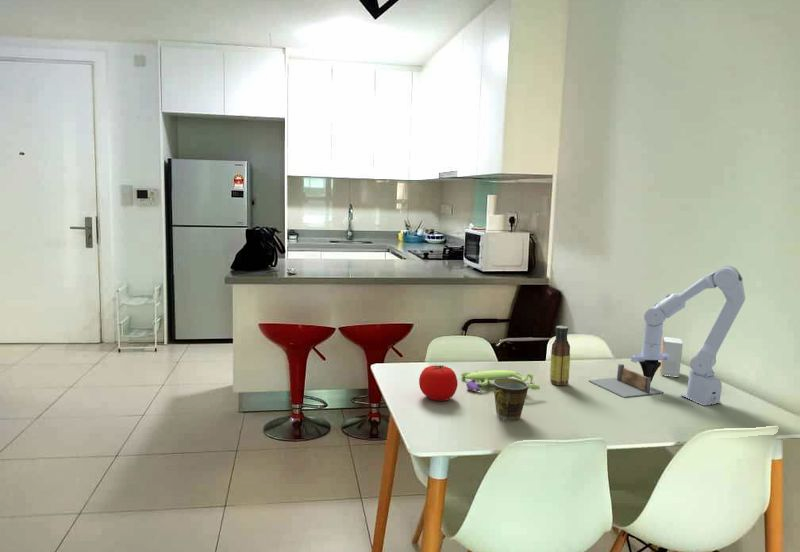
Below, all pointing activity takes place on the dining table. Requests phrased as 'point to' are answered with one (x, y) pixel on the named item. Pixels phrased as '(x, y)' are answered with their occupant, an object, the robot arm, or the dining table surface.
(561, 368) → the sauce bottle
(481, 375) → the figurine
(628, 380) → the board
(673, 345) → the small box
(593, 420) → the dining table surface
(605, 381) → the gate frame
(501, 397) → the ceramic cup
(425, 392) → the tomato
